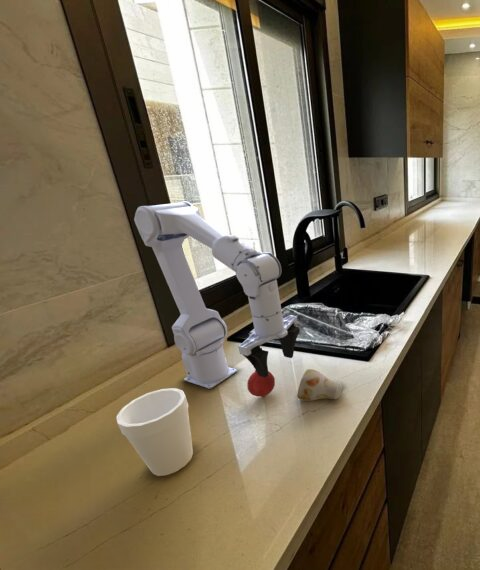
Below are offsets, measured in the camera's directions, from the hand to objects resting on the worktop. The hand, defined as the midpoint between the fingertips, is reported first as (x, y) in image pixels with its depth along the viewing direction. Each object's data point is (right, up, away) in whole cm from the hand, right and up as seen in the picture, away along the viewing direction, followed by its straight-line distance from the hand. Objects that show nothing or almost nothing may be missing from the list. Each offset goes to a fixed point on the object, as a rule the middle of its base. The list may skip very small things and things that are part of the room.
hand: (276, 365), depth 73 cm
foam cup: (-14, -15, -12) cm, 24 cm away
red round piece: (-5, -9, +5) cm, 11 cm away
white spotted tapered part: (+9, -9, +5) cm, 13 cm away
